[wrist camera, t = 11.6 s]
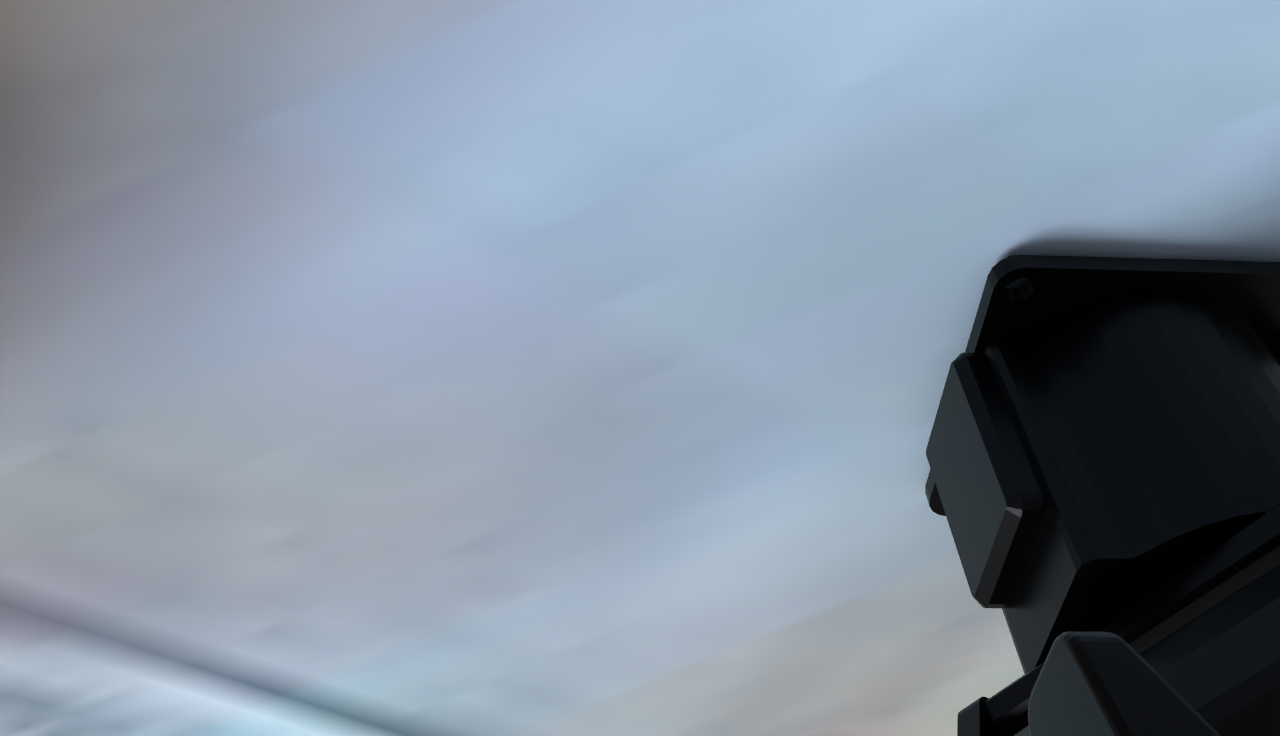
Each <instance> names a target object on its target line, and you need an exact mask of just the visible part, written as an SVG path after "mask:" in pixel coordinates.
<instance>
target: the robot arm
mask: <svg viewBox="0 0 1280 736" xmlns="http://www.w3.org/2000/svg"><path fill="white" fill-rule="evenodd" d="M1022 278H1025V279H1026V280H1025V282H1024V283H1023V284H1022V285H1020V286H1018V287H1015V288H1007V287H1008V286H1009V284H1010V283H1012V282H1013V281H1015V280H1016V279H1022ZM926 455H927V459H928V462H929V465H930V468H931V469H930V473H929V476H928V479H927V483H926V487H925V493H926V496H927V499H928V502H929V506H930V507H931V509H932V511H933V512H935V513H937V514H939V515H943V516H946V517H947V520H948V523H949V526H950V529H951V532H952V535H953V538H954V541H955V544H956V548H957V551H958V554H959V557H960V560H961V563H962V566H963V569H964V572H965V575H966V578H967V581H968V584H969V587H970V591H971V594H972V596H973V597H974V598H975V599H976V600H977V602H978V603H979V604H980V605H981V606H982V607H984V608H1002V610H1003V613H1004V616H1005V618H1006V621H1007V624H1008V627H1009V630H1010V633H1011V636H1012V639H1013V641H1014V644H1015V647H1016V650H1017V653H1018V656H1019V659H1020V662H1021V665H1022V667H1023V670H1024V673H1025V675H1023V676H1022V677H1020V678H1019V679H1017V680H1016V681H1014V682H1013V683H1012V684H1010V685H1009V686H1007V687H1006V688H1004V689H1003V690H1001V691H1000V692H998V693H997V694H995V695H994V696H992V697H991V698H986V697H981V698H979V699H978V700H976V701H975V702H973V703H972V704H970V705H969V706H968V707H966V708H965V709H963V710H962V711H960V712H959V713H958V736H1280V262H1250V261H1215V260H1181V259H1146V258H1111V257H1077V256H1042V255H1016V256H1010V257H1008V258H1005V259H1003V260H1001V261H1000V262H998V263H997V264H996V265H995V266H994V267H993V268H992V269H991V271H990V273H989V275H988V277H987V281H986V284H985V287H984V291H983V294H982V298H981V301H980V304H979V308H978V311H977V314H976V318H975V321H974V324H973V328H972V331H971V335H970V338H969V341H968V345H967V348H966V351H965V353H961V354H960V355H959V356H958V357H957V358H956V359H955V360H954V361H953V362H952V363H951V366H950V370H949V373H948V377H947V380H946V383H945V387H944V390H943V394H942V397H941V401H940V404H939V408H938V411H937V414H936V418H935V421H934V425H933V428H932V432H931V435H930V439H929V442H928V446H927V449H926Z"/></svg>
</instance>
